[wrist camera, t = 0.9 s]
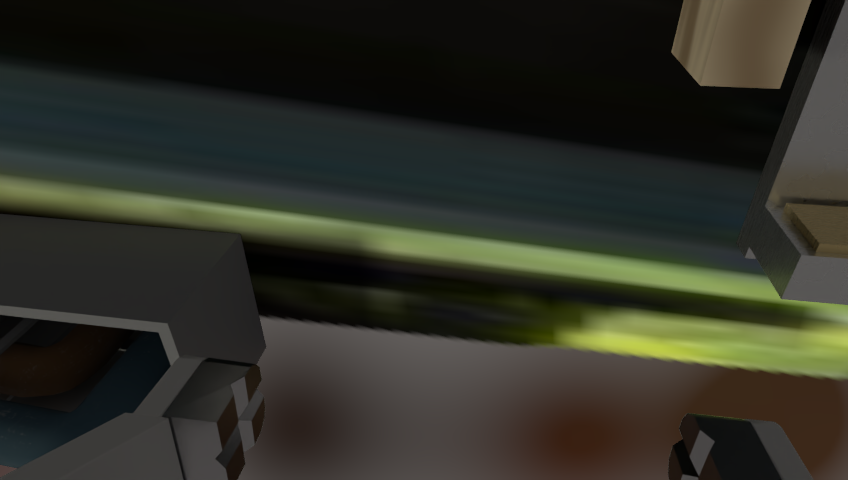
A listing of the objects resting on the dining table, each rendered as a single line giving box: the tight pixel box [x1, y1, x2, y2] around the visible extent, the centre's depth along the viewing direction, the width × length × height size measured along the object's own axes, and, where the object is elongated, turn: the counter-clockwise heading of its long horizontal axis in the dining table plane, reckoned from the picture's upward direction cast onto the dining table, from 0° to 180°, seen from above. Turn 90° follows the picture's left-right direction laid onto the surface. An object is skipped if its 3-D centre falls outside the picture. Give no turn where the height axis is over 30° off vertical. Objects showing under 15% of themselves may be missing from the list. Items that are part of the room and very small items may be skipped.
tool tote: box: [0, 214, 266, 412], centre depth 50 cm, size 14×40×12 cm, turn 90°
